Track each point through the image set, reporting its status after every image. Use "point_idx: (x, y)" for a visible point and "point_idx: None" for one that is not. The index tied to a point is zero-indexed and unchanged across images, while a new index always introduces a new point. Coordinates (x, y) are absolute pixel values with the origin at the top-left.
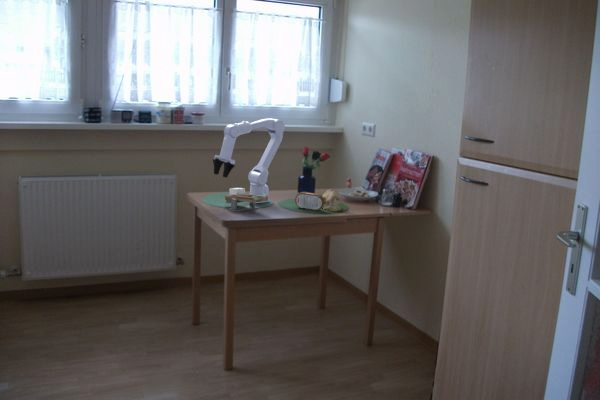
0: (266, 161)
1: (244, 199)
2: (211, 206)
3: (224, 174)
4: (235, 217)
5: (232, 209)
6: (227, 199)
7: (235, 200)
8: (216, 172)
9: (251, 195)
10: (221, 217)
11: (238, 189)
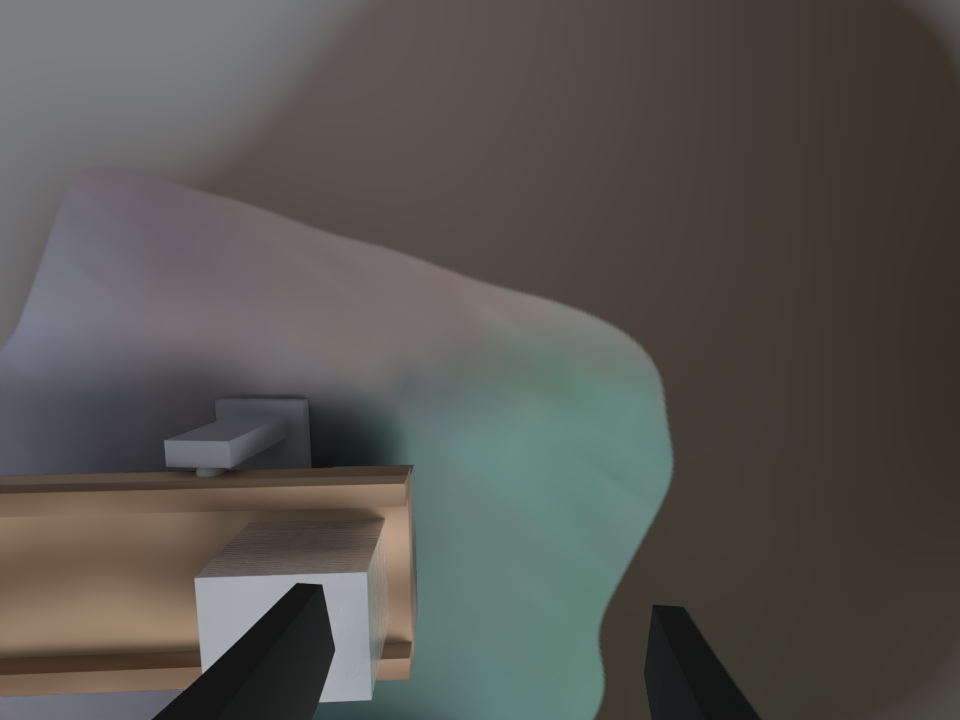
0: None
1: (45, 483)
2: (474, 333)
3: (256, 635)
4: (50, 279)
5: (249, 402)
6: (366, 468)
7: (171, 441)
8: (660, 681)
9: (161, 665)
10: (88, 171)
11: (201, 602)
